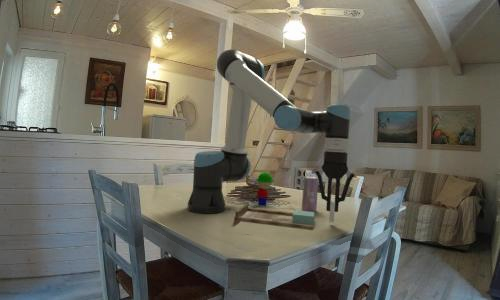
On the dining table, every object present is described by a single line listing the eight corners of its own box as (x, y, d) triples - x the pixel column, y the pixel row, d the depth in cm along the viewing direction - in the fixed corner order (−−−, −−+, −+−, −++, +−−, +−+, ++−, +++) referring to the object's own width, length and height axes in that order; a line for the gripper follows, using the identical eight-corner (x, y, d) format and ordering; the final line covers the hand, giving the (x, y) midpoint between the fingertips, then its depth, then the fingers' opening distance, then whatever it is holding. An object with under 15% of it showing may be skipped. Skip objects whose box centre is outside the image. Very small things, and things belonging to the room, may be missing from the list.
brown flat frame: (234, 224, 99) (234, 212, 99) (246, 213, 115) (246, 203, 115) (312, 234, 93) (313, 221, 93) (314, 221, 109) (314, 210, 108)
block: (292, 223, 99) (292, 214, 99) (294, 218, 106) (294, 209, 106) (313, 225, 97) (313, 216, 97) (313, 220, 104) (314, 212, 104)
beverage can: (315, 212, 124) (317, 176, 124) (317, 215, 119) (319, 178, 118) (301, 211, 125) (303, 175, 125) (302, 214, 119) (304, 177, 119)
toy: (267, 208, 126) (269, 173, 126) (251, 205, 130) (253, 172, 130) (275, 206, 133) (277, 172, 132) (260, 203, 137) (262, 171, 136)
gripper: (315, 150, 97) (311, 221, 97) (357, 152, 94) (352, 226, 94) (316, 150, 104) (312, 216, 105) (355, 152, 101) (350, 220, 101)
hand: (331, 220), depth 99 cm, fingers closed
